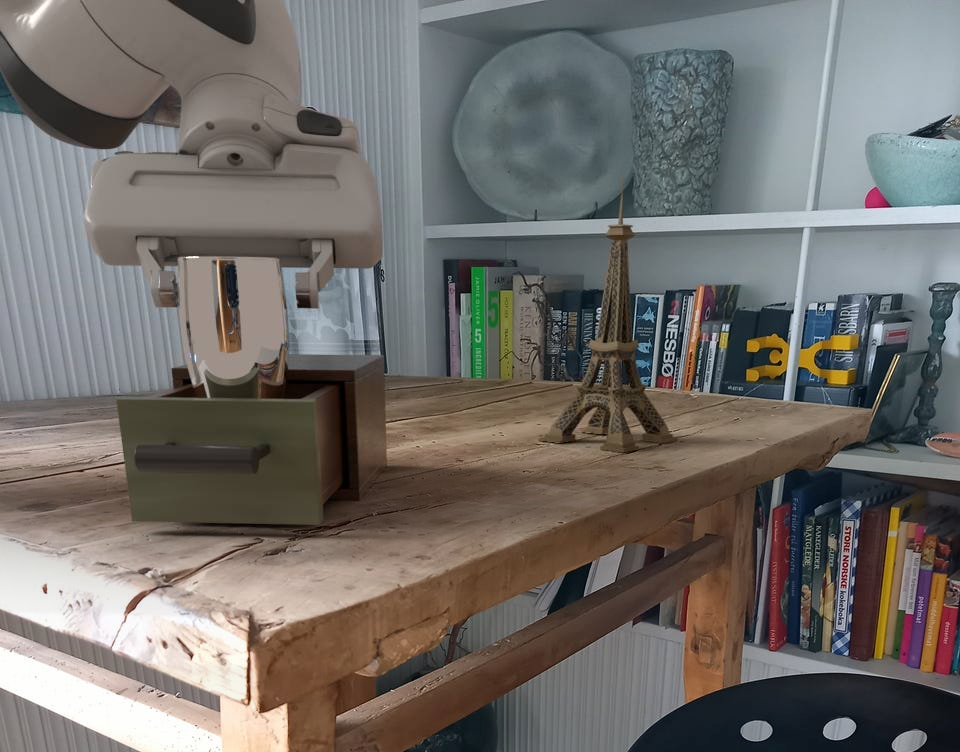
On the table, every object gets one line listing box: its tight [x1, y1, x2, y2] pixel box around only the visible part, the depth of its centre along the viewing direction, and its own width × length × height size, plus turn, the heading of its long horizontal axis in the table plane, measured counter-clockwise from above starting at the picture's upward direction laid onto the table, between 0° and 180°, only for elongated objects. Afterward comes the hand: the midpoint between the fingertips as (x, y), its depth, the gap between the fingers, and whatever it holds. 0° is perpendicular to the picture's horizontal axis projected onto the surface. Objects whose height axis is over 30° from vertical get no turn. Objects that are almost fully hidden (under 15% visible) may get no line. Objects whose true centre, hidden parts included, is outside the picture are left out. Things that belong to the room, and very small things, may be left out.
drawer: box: [116, 382, 347, 526], centre depth 63 cm, size 18×12×8 cm
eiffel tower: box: [538, 178, 679, 453], centre depth 94 cm, size 11×11×25 cm
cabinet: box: [170, 353, 388, 501], centre depth 77 cm, size 15×14×10 cm
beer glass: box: [177, 256, 290, 399], centre depth 63 cm, size 7×7×15 cm
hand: (236, 301), depth 63 cm, fingers open, 8 cm apart
